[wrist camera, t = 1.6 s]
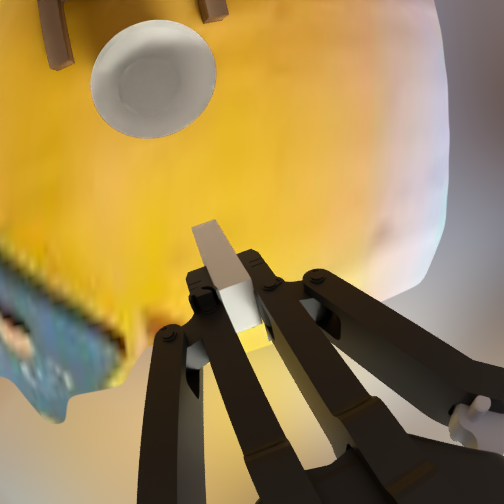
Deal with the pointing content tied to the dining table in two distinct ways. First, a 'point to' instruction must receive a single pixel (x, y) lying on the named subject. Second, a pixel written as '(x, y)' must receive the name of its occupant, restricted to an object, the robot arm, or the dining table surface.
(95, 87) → the cup
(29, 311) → the dining table surface
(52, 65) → the walnut pocket
